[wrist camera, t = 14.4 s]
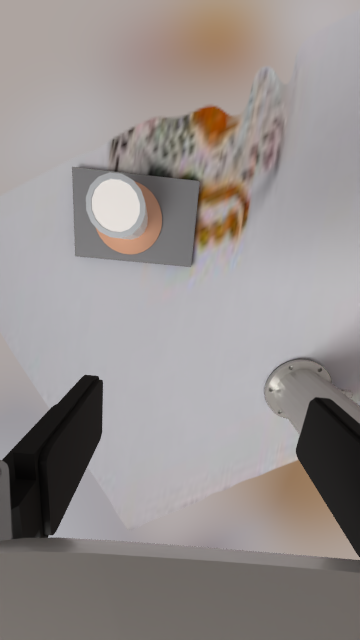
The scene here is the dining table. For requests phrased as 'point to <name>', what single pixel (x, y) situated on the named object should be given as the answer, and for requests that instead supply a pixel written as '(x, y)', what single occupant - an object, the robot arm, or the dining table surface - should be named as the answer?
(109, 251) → the board
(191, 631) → the robot arm
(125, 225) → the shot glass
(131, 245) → the coaster
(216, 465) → the dining table surface
